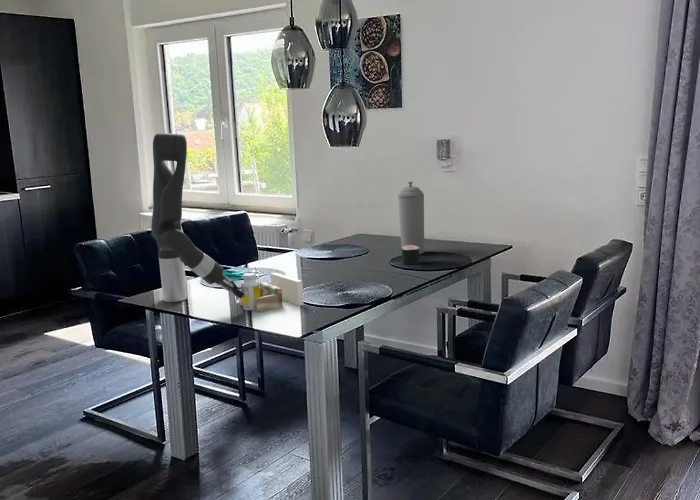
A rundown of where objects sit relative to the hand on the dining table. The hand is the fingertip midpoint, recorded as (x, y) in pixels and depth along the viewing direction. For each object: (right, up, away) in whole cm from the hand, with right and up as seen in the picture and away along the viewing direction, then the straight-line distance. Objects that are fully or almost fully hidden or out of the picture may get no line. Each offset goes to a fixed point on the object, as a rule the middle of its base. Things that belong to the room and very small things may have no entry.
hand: (241, 296), depth 244 cm
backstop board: (+15, -2, +12) cm, 20 cm away
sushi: (+67, +10, +66) cm, 94 cm away
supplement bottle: (+3, -5, +3) cm, 7 cm away
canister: (+70, +15, +87) cm, 113 cm away
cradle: (+6, -4, +6) cm, 10 cm away
